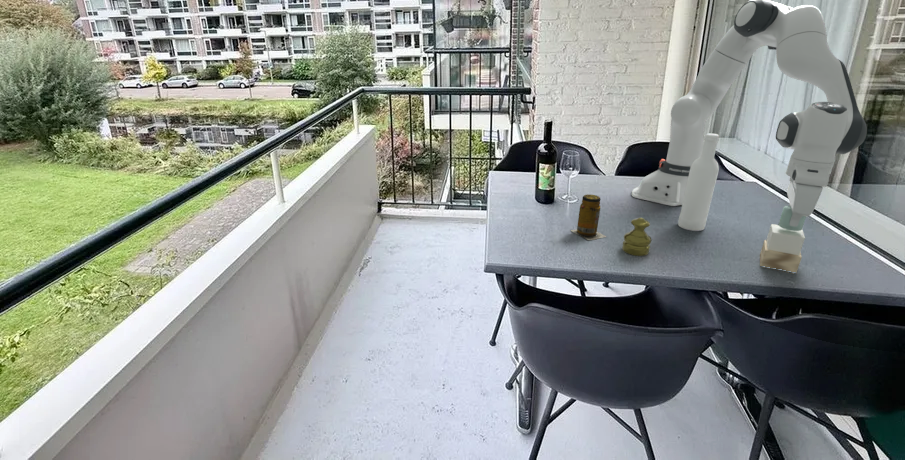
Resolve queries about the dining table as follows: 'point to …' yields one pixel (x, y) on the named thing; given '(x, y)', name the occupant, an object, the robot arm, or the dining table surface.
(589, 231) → the condiment
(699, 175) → the bottle
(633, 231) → the yellow tiered cone
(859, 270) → the dining table surface
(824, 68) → the robot arm
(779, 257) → the tower base
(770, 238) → the tower top
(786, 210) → the pale green rounded block
